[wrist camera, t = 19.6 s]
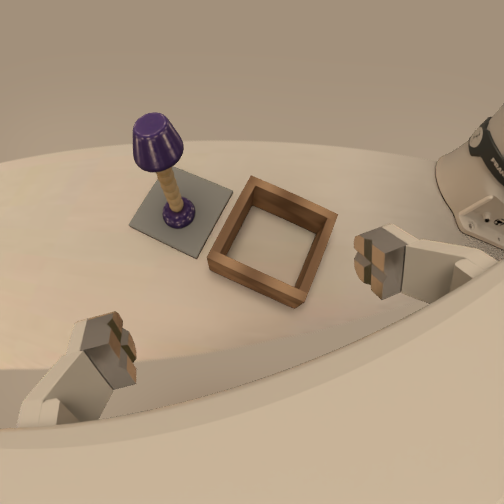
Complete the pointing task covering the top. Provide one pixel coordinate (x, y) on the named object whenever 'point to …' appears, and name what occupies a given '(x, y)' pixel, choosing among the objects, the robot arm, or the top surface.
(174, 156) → the toy lamp
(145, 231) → the slate mat
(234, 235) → the walnut crate
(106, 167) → the top surface
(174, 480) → the robot arm
